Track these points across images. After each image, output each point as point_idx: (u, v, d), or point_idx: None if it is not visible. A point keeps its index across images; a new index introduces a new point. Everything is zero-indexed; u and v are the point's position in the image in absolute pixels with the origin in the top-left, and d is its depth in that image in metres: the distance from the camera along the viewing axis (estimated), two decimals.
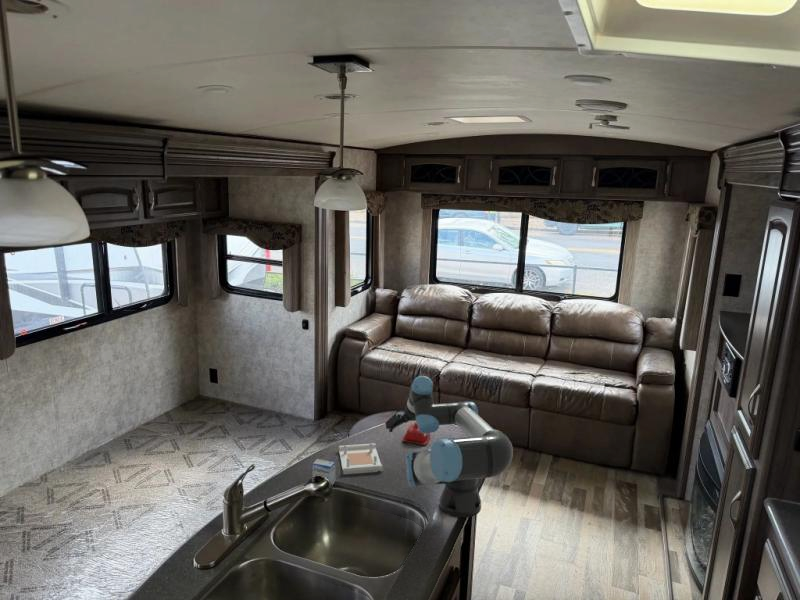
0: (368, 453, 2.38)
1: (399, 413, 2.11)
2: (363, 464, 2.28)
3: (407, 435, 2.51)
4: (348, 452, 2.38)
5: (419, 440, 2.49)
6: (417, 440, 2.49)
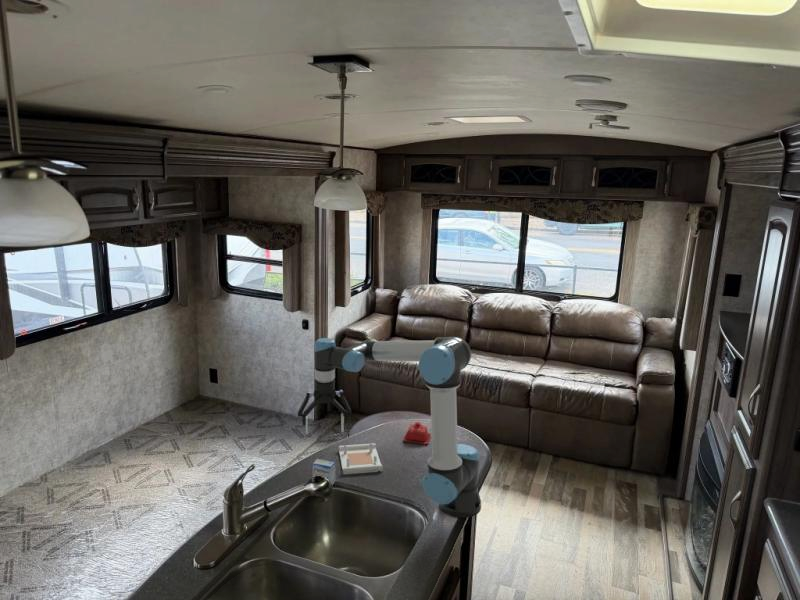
0: (368, 453, 2.38)
1: (309, 392, 2.07)
2: (363, 464, 2.28)
3: (408, 435, 2.51)
4: (348, 452, 2.38)
5: (421, 440, 2.49)
6: (418, 440, 2.50)
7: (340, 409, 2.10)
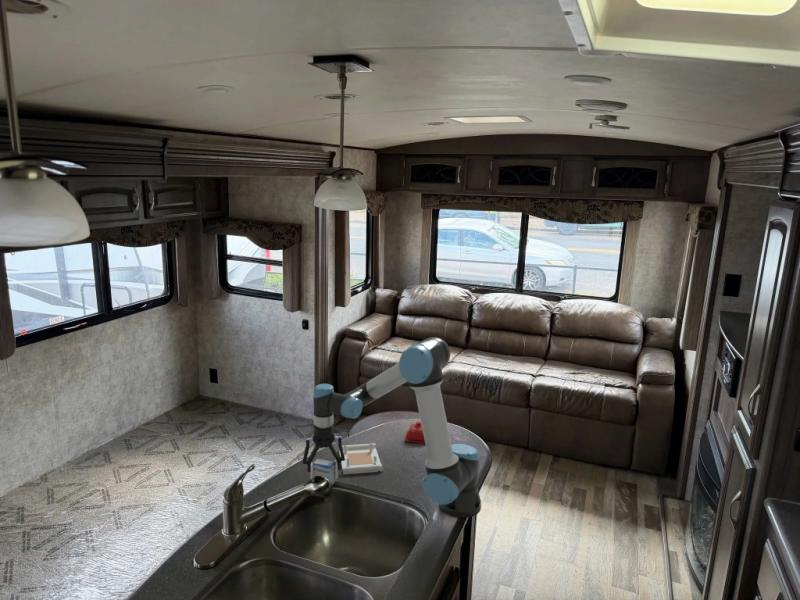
0: (368, 453, 2.38)
1: (307, 438, 2.11)
2: (363, 464, 2.28)
3: (410, 435, 2.51)
4: (348, 452, 2.38)
5: (423, 439, 2.50)
6: (420, 439, 2.50)
7: (335, 455, 2.13)
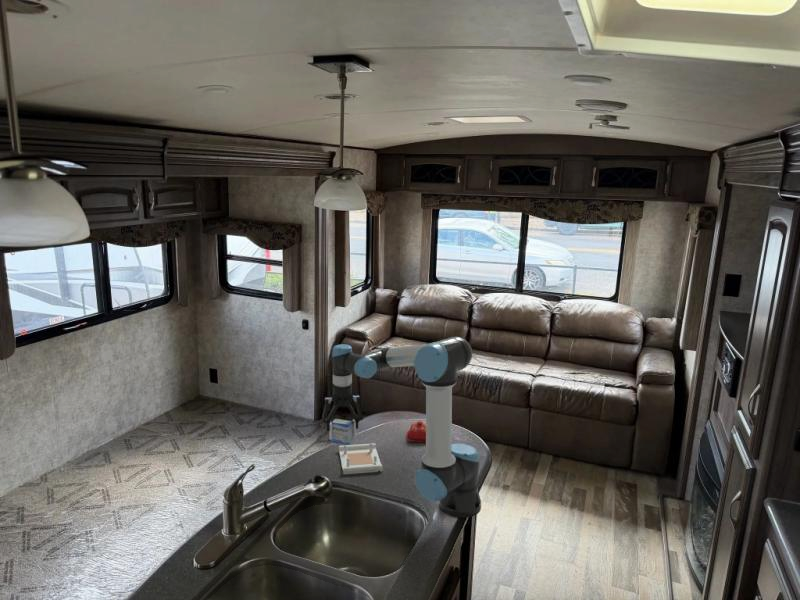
0: (368, 453, 2.38)
1: (327, 398, 2.16)
2: (363, 464, 2.28)
3: (412, 435, 2.51)
4: (348, 452, 2.38)
5: (425, 439, 2.51)
6: (422, 438, 2.51)
7: (353, 414, 2.19)
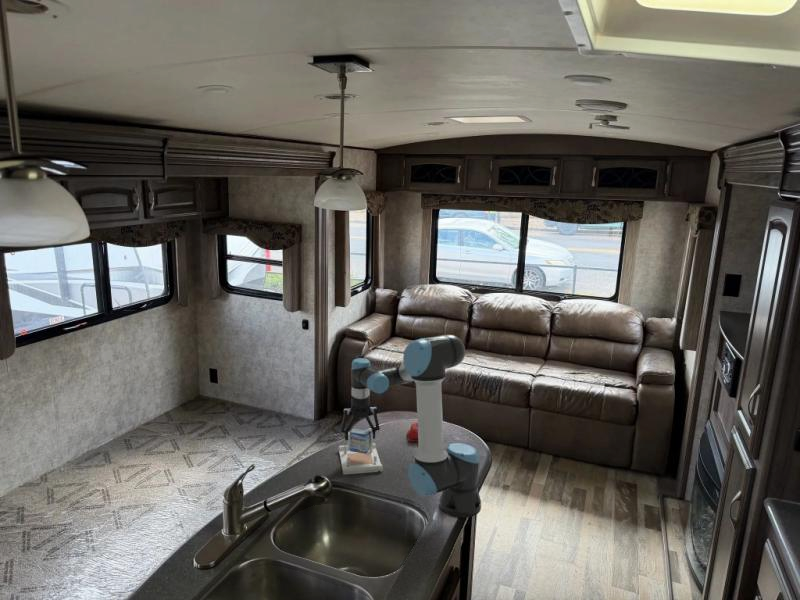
0: (368, 453, 2.38)
1: (345, 409, 2.27)
2: (363, 464, 2.28)
3: (413, 434, 2.51)
4: (348, 452, 2.38)
5: None
6: None
7: (371, 425, 2.30)
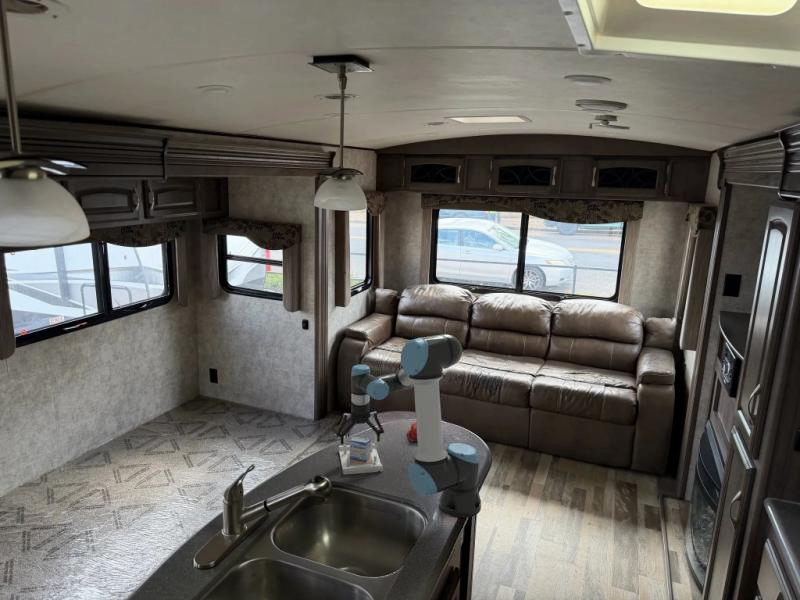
0: None
1: (346, 414, 2.28)
2: (363, 464, 2.28)
3: (414, 434, 2.52)
4: (348, 452, 2.38)
5: None
6: None
7: (374, 429, 2.30)
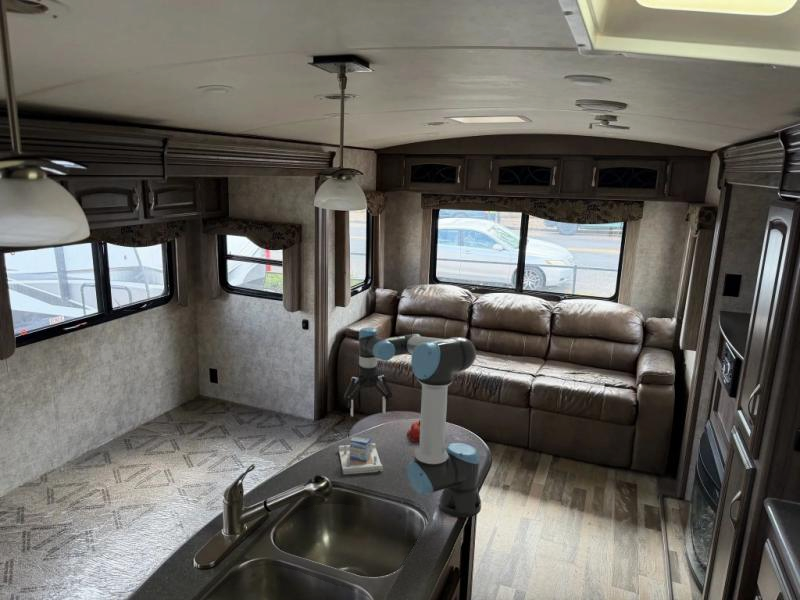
0: None
1: (354, 377, 2.26)
2: (363, 464, 2.28)
3: (415, 434, 2.52)
4: (348, 452, 2.38)
5: None
6: None
7: (382, 392, 2.29)
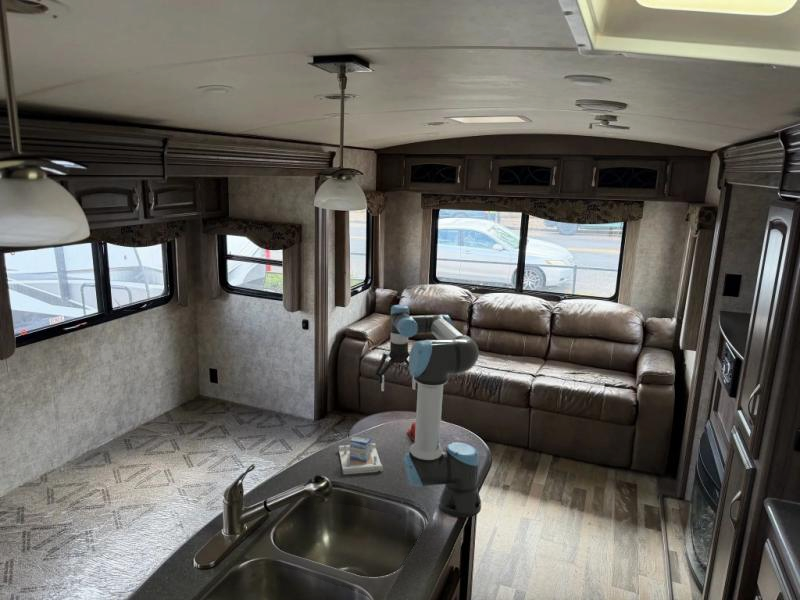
0: None
1: (385, 353, 2.32)
2: (363, 464, 2.28)
3: None
4: (348, 452, 2.38)
5: None
6: None
7: None
